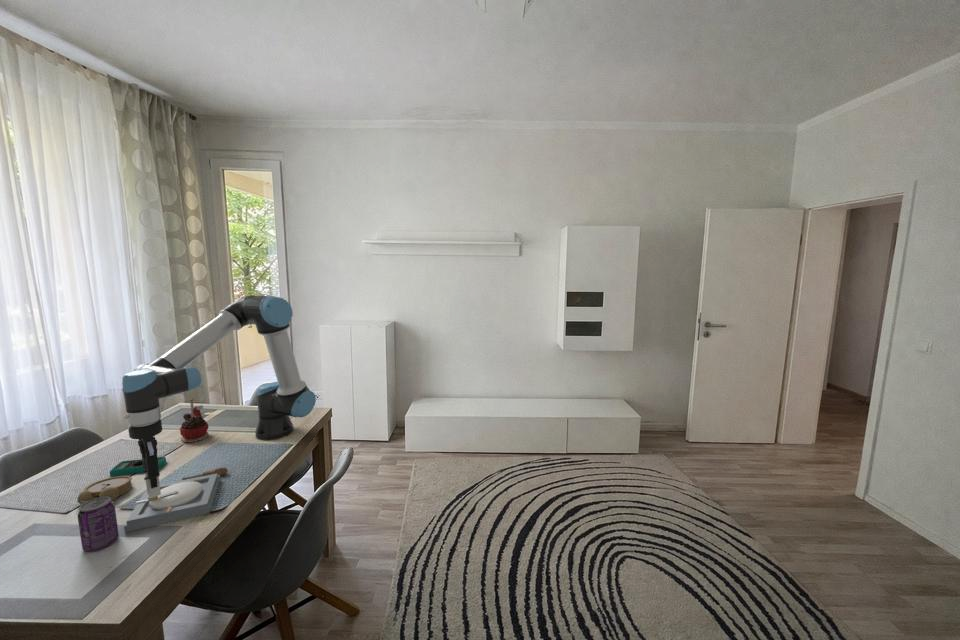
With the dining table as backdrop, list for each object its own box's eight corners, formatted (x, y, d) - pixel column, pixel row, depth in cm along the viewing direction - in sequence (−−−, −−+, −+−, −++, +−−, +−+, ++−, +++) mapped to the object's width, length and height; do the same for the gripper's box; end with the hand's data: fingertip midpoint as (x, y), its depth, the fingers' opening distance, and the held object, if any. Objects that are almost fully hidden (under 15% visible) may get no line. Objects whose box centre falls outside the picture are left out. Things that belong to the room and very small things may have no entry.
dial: (201, 481, 130) (198, 453, 129) (202, 499, 120) (199, 470, 119) (151, 494, 123) (148, 465, 121) (148, 515, 112) (144, 484, 111)
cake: (175, 441, 164) (171, 401, 162) (198, 432, 173) (194, 394, 170) (192, 445, 160) (188, 404, 158) (214, 436, 169) (210, 397, 166)
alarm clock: (138, 473, 134) (111, 490, 119) (139, 487, 134) (112, 506, 119) (98, 478, 130) (66, 496, 116) (99, 492, 130) (66, 512, 116)
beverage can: (99, 535, 107) (93, 496, 106) (126, 534, 108) (120, 495, 106) (74, 554, 100) (68, 512, 99) (103, 552, 101) (97, 511, 99)
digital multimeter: (158, 472, 141) (157, 464, 140) (108, 478, 136) (107, 470, 136) (168, 462, 148) (167, 455, 147) (121, 467, 143) (120, 460, 143)
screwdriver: (228, 472, 140) (227, 465, 140) (227, 475, 138) (226, 468, 138) (183, 480, 135) (182, 473, 134) (181, 484, 132) (181, 477, 132)
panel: (220, 480, 135) (219, 471, 135) (209, 513, 117) (208, 503, 117) (147, 494, 126) (146, 485, 126) (124, 532, 108) (123, 521, 108)
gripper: (124, 418, 116) (134, 488, 120) (131, 434, 106) (142, 510, 110) (156, 411, 122) (164, 478, 126) (166, 425, 112) (174, 499, 115)
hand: (154, 493), depth 118 cm, fingers open, 2 cm apart
